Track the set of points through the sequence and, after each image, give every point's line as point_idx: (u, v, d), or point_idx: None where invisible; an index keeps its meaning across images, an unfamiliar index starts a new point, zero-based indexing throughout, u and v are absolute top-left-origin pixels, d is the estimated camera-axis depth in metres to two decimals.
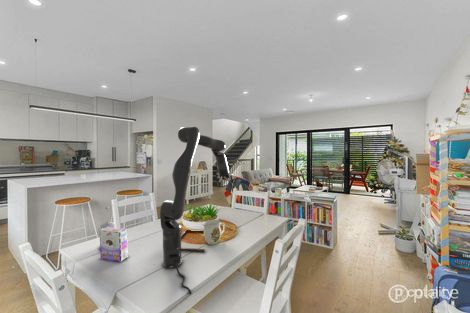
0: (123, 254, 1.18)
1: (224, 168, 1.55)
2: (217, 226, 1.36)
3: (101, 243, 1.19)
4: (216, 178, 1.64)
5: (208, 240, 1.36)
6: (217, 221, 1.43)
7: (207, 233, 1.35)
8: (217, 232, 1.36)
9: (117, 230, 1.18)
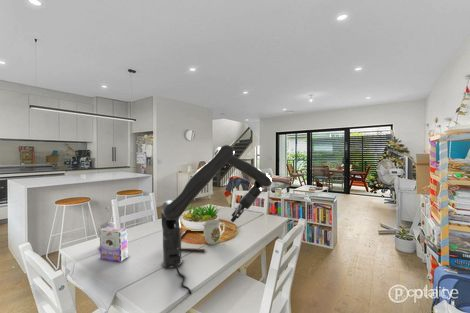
0: (123, 254, 1.18)
1: (245, 198, 1.35)
2: (217, 226, 1.36)
3: (101, 243, 1.19)
4: (237, 206, 1.46)
5: (208, 240, 1.36)
6: (217, 221, 1.43)
7: (207, 233, 1.35)
8: (217, 232, 1.36)
9: (117, 230, 1.18)
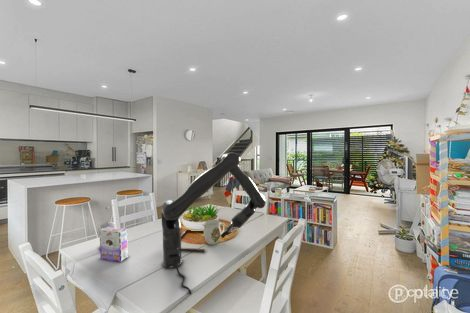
0: (123, 254, 1.18)
1: (237, 217, 1.35)
2: (217, 226, 1.36)
3: (101, 243, 1.19)
4: None
5: (208, 240, 1.36)
6: (217, 221, 1.43)
7: (207, 233, 1.35)
8: (217, 232, 1.36)
9: (117, 230, 1.18)
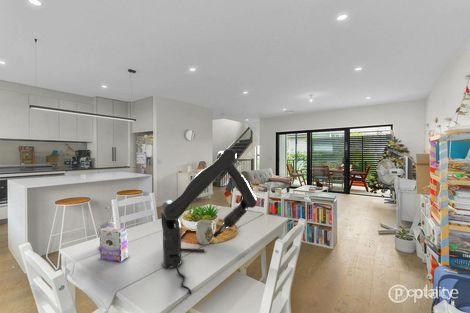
0: (123, 254, 1.18)
1: (229, 216, 1.35)
2: (210, 226, 1.37)
3: (101, 243, 1.19)
4: None
5: (202, 240, 1.35)
6: (209, 221, 1.44)
7: (201, 233, 1.35)
8: (210, 232, 1.37)
9: (117, 230, 1.18)
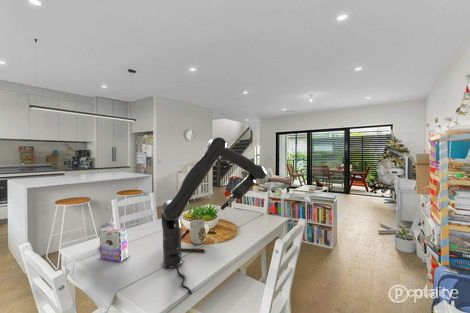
0: (123, 254, 1.18)
1: (237, 188, 1.34)
2: (204, 225, 1.38)
3: (101, 243, 1.19)
4: None
5: (195, 240, 1.36)
6: (202, 221, 1.44)
7: (194, 233, 1.35)
8: (204, 231, 1.37)
9: (117, 230, 1.18)
